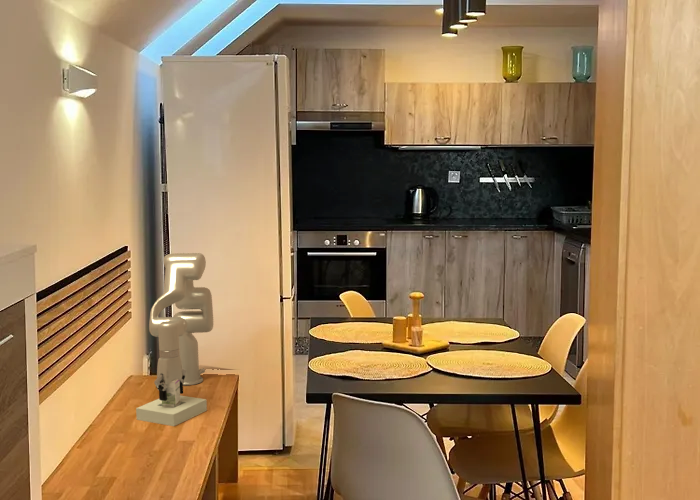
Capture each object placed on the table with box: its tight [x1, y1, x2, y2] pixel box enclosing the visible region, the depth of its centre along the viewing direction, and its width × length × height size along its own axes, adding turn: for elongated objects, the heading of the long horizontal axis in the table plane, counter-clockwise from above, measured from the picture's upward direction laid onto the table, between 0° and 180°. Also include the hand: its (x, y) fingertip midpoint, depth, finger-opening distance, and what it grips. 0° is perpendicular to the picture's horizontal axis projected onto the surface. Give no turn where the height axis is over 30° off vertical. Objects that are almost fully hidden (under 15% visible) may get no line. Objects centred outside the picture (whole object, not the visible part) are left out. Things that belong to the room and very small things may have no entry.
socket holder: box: [135, 394, 208, 427], centre depth 315 cm, size 20×18×4 cm
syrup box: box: [162, 379, 181, 408], centre depth 314 cm, size 6×6×14 cm
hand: (171, 396), depth 314 cm, fingers open, 9 cm apart
